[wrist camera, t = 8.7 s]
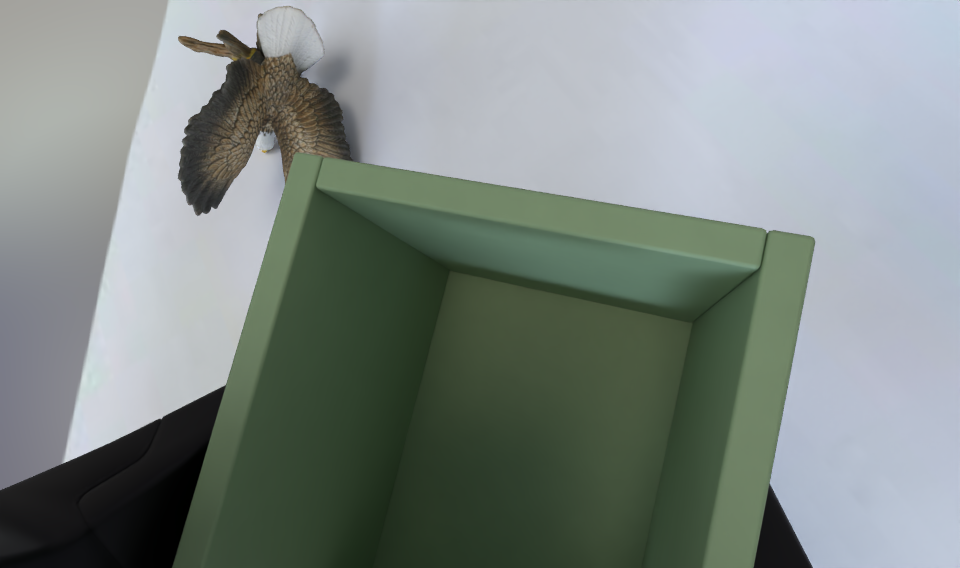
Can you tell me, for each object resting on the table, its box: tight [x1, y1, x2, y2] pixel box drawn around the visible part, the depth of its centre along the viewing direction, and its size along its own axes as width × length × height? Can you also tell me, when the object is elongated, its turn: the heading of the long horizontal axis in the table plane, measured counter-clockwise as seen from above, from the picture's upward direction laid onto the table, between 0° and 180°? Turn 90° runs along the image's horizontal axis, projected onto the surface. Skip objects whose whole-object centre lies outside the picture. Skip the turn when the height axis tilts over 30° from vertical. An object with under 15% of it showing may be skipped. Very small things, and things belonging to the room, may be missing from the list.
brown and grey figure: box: [178, 6, 353, 216], centre depth 26 cm, size 8×7×9 cm
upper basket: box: [172, 152, 815, 568], centre depth 10 cm, size 8×7×7 cm
